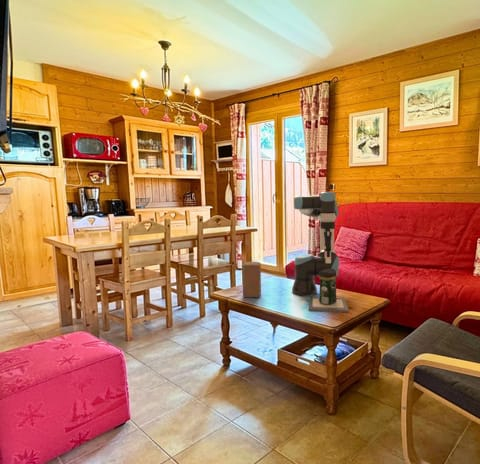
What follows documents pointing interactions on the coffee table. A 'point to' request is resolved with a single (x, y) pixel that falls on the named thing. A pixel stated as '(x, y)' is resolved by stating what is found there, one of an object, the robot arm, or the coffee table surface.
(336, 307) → the grey square frame
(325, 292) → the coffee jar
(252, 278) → the wooden block
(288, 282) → the coffee table surface
